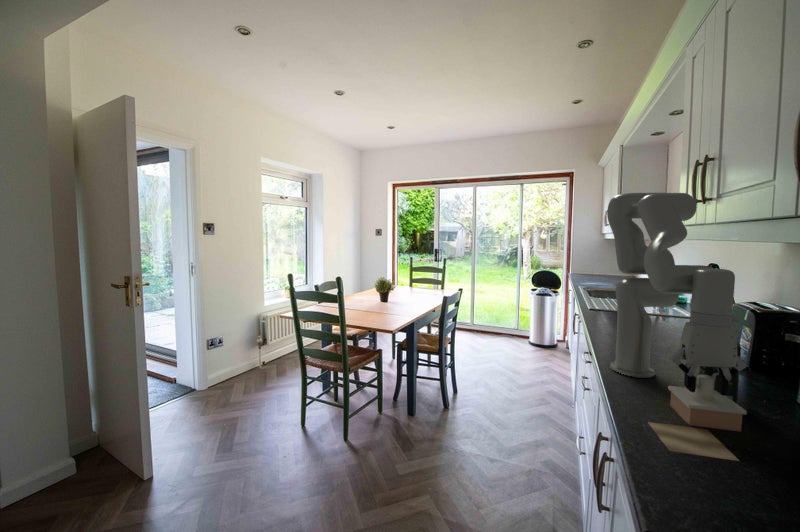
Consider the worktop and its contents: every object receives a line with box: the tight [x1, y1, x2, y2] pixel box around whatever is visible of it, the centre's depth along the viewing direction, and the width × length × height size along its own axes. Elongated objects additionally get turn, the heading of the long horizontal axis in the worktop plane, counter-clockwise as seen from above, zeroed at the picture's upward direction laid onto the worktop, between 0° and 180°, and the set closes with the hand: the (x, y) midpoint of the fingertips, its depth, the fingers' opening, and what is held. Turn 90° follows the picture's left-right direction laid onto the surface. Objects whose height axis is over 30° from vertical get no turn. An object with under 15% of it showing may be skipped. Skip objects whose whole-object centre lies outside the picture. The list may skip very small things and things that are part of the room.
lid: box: [667, 374, 748, 415], centre depth 86 cm, size 11×11×6 cm
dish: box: [669, 391, 743, 433], centre depth 87 cm, size 10×10×5 cm
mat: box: [647, 421, 740, 462], centre depth 78 cm, size 12×12×1 cm
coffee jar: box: [698, 341, 742, 404], centre depth 94 cm, size 10×8×19 cm
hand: (705, 390), depth 86 cm, fingers open, 5 cm apart
